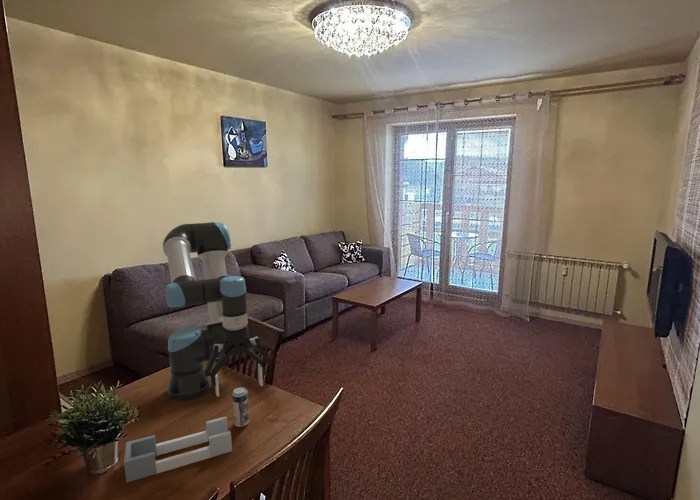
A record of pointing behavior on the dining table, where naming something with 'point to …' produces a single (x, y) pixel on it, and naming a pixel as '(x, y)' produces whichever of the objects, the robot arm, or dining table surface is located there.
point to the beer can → (240, 407)
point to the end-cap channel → (145, 449)
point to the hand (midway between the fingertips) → (239, 389)
